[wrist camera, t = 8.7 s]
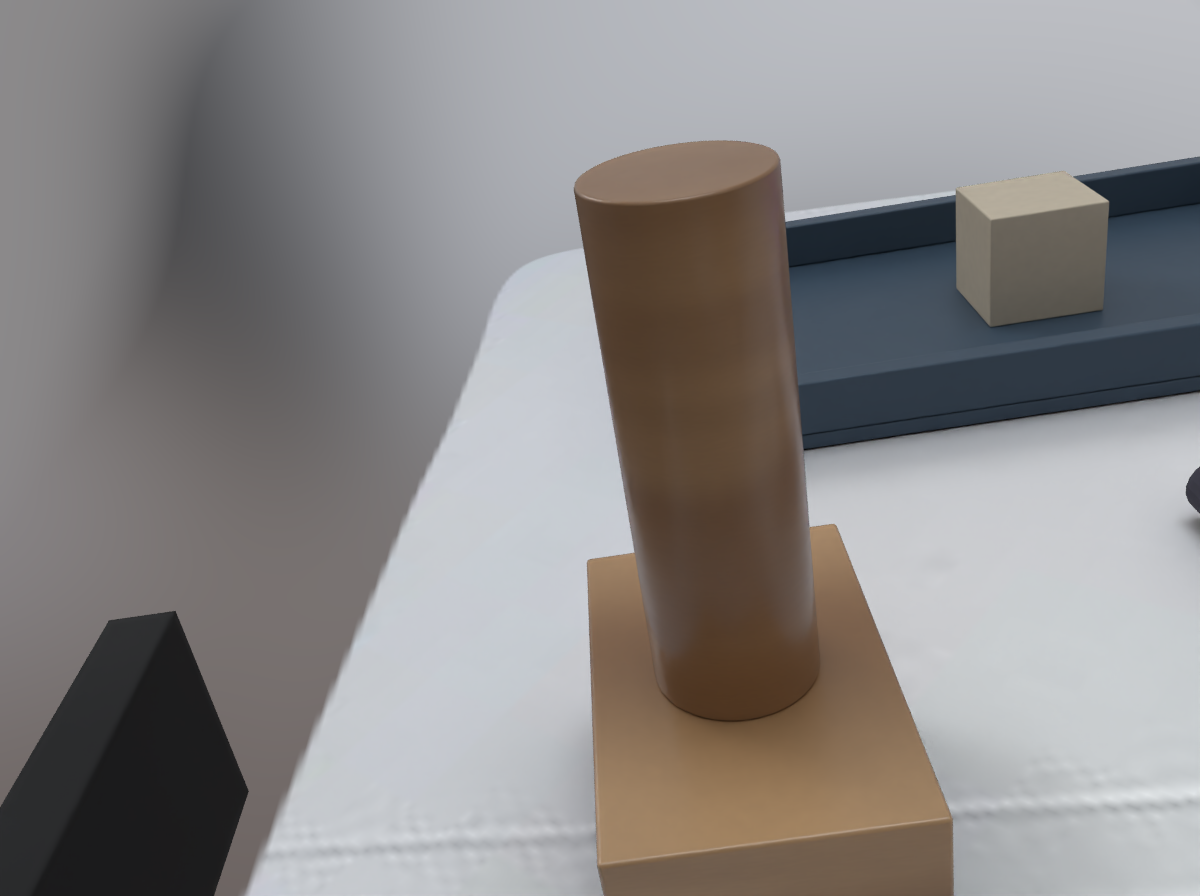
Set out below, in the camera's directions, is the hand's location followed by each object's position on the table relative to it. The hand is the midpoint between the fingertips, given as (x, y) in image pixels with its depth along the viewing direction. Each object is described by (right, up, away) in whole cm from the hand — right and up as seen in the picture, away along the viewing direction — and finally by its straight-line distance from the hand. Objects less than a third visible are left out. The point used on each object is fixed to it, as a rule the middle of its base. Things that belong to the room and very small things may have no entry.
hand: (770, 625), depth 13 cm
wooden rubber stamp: (+1, -6, +10) cm, 12 cm away
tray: (+13, +7, +30) cm, 33 cm away
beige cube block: (+14, +7, +29) cm, 33 cm away
